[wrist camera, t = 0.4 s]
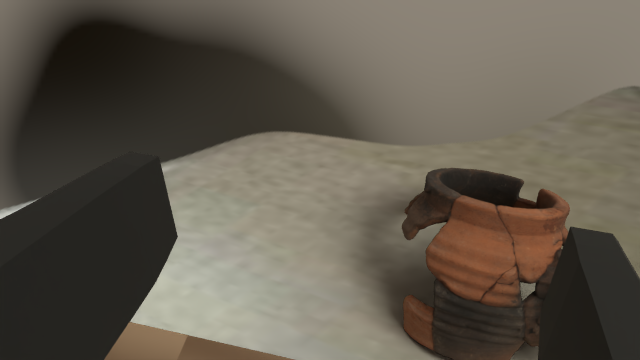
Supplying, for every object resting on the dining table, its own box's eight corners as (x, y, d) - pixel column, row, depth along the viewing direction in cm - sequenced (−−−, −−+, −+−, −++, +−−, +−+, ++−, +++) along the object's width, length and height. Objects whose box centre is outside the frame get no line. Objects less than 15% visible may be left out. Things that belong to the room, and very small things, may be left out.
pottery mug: (349, 312, 31) (374, 171, 29) (442, 271, 38) (469, 153, 35) (561, 445, 24) (620, 269, 21) (631, 364, 30) (683, 223, 28)
